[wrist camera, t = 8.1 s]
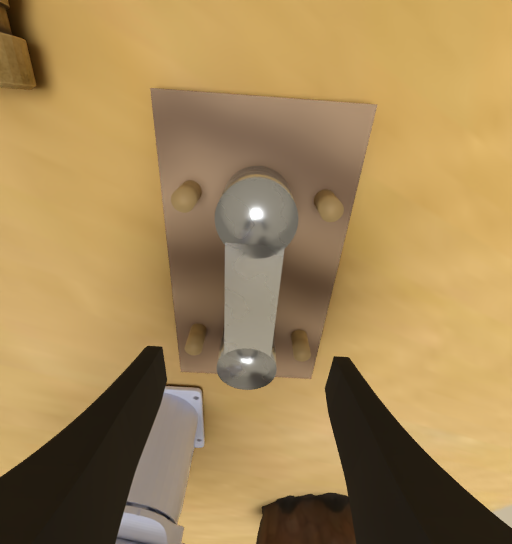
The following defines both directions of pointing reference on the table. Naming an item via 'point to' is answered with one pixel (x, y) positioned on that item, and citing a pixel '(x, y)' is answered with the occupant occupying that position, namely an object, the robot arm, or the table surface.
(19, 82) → the gavel
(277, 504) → the dark brown rock
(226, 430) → the table surface
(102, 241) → the table surface
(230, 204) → the silver ball-ended bar
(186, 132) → the board
